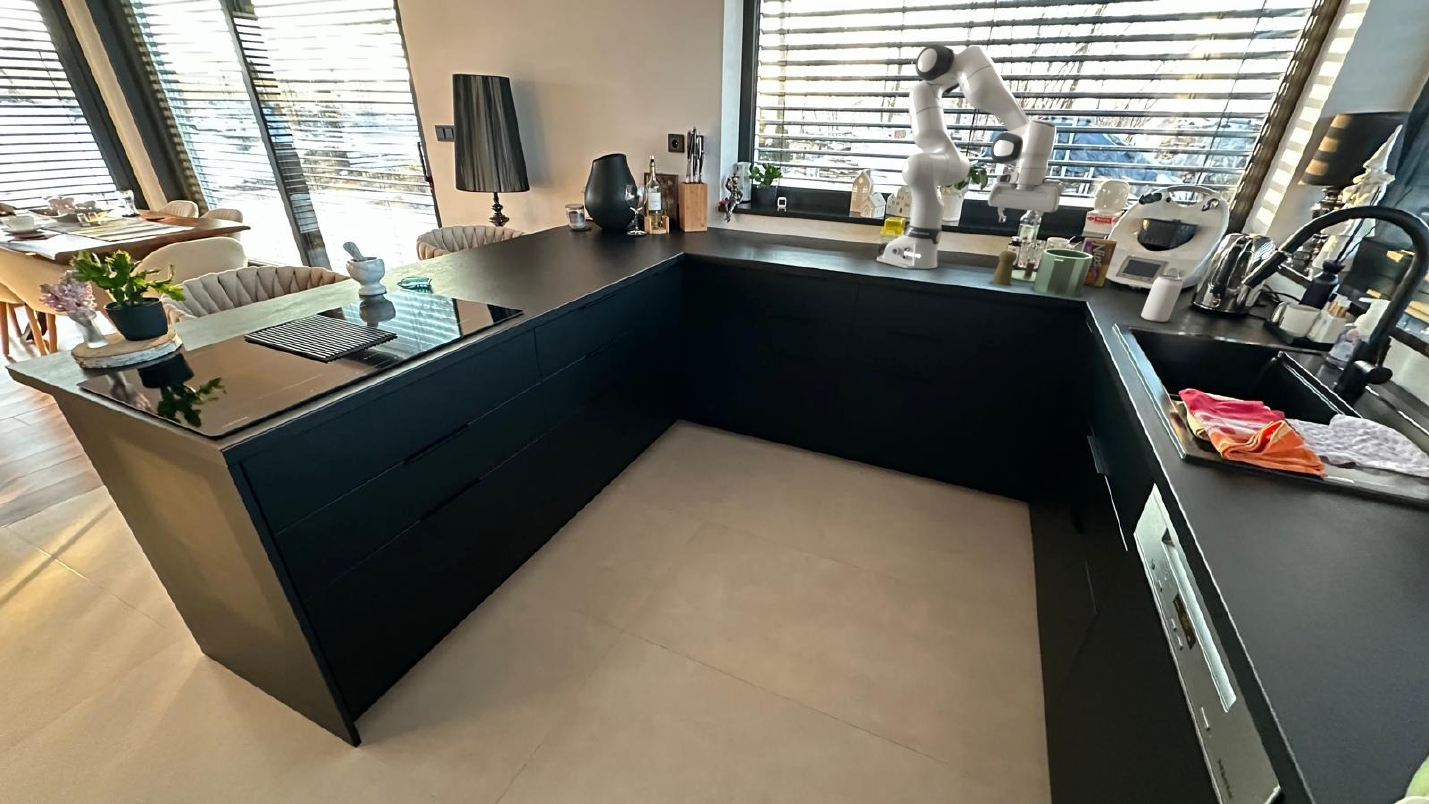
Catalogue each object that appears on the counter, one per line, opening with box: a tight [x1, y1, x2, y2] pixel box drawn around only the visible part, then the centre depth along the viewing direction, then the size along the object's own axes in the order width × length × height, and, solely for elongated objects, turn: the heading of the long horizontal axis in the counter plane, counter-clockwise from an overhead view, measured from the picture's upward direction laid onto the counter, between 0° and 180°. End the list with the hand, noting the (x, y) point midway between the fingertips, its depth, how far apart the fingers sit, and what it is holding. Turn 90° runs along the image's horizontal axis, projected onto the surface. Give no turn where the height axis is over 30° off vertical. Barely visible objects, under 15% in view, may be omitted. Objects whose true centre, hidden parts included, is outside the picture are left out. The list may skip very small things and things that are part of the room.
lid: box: [1011, 261, 1037, 283], centre depth 195 cm, size 15×15×6 cm
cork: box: [991, 250, 1018, 286], centre depth 186 cm, size 6×6×11 cm
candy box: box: [1080, 237, 1118, 287], centre depth 187 cm, size 9×4×15 cm, turn 65°
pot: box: [1032, 248, 1093, 298], centre depth 179 cm, size 14×19×12 cm
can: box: [1140, 274, 1184, 323], centre depth 156 cm, size 6×6×12 cm
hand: (1016, 223), depth 179 cm, fingers open, 8 cm apart
